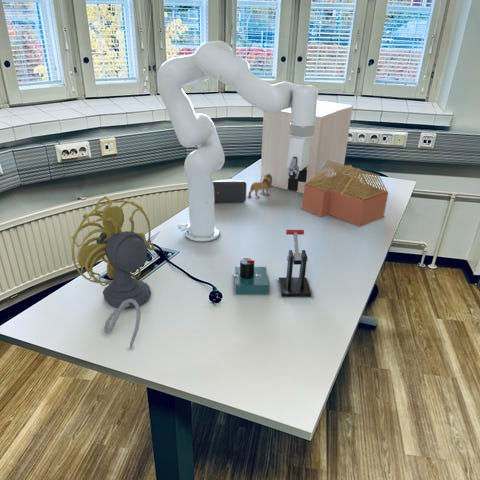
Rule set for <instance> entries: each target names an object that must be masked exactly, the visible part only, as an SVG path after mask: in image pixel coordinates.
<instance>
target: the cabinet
mask: <svg viewBox="0 0 480 480" xmlns="http://www.w3.org/2000/svg"><path fill="white" fill-rule="evenodd" d="M353 109H354V105H352V104H346V103H337V102H330V101H321V100H317V110H316V119H315V129H314V137H312V138H311V147H310V158H309V163H308V168H307V179H306V182H298V190H297V191H294V192H296V193H300V194H304V185H305V184H306V183H307V182H308V181H309V180H310V179H311V178H313V177H314V176H315V175H316V174H319V173H320V171H321V170H322V168H323V167H324V165H325V164H326V162H327V161H328V159H329V161H332V162H333V161H334V162H337V164H338V162H339V164H342V165H343V164H344V166H345V162H346V154H347V147H348V139H349V134H350V127H351V121H352V113H353ZM290 119H291V108H289V109H285V110H282V111H280V112H278V113H267V112H265V111H263V117H262V120H263V121H262V139H261V161H260V181H259V182H262V181H263V179H264V175H266V174H270V175H271V176H272V184H271V186H270V187H274V188H279V189H282V190H283V189H284V190H287V191H289V190H288V176H289V170H288V169H287V168H286V167H287V158H288V150H289V143H290V138H291V136H289V132H290ZM329 161H328V163H327V164H326V166H325V167H324V169H323V170H322V171H321V172H322V173H323V171H324V170H325V168H326V167H327V165H328V164H329ZM331 164H332V163H331ZM331 164H329V166H330V165H331ZM333 164H334V163H333ZM333 164H332V165H333ZM337 164H336V165H337ZM339 164H338V166H339ZM334 166H335V165H334ZM338 166H337V167H338ZM340 166H341V165H340ZM344 166H343V167H344ZM331 167H332V166H331ZM328 168H329V167H327V168H326V170H325V171H327V170H328ZM336 169H337V168H336ZM336 169H335V170H336ZM329 170H331V168H329ZM329 170H328V171H329ZM333 170H334V169H332V170H331V172H332V171H333ZM325 171H324V172H325ZM331 172H330V173H331ZM336 172H337V171H336ZM295 173H296V171H295ZM330 173H329V174H330ZM327 174H328V173H327ZM327 174H325V175H326V176H327ZM329 174H328V176H327V178H328V177H329ZM333 174H334V171H333V173H332V174H331V177H332V175H333ZM335 175H336V173H335V174H334V176H335ZM322 177H323V176H322ZM324 177H325V176H324ZM315 178H316V177H315ZM320 178H321V177H320ZM310 181H311V180H310ZM310 181H309V182H310ZM313 181H314V180H313ZM308 184H309V183H308Z"/></svg>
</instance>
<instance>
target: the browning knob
mask: <svg viewBox="0 0 480 480" xmlns="http://www.w3.org/2000/svg"><path fill="white" fill-rule="evenodd" d="M239 267H240V277H242V278H244V279H250V278H252V277H253V276H254V267H255V259H254V258H250V257H243V258H241V259H240V261H239Z"/></svg>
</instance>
